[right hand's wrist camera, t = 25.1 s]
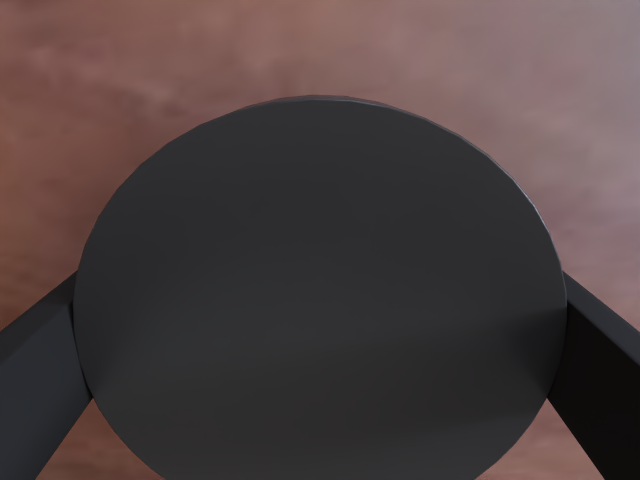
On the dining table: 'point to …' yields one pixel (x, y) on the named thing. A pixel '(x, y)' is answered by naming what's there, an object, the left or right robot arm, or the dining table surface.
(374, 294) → the lid
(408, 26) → the dining table surface
